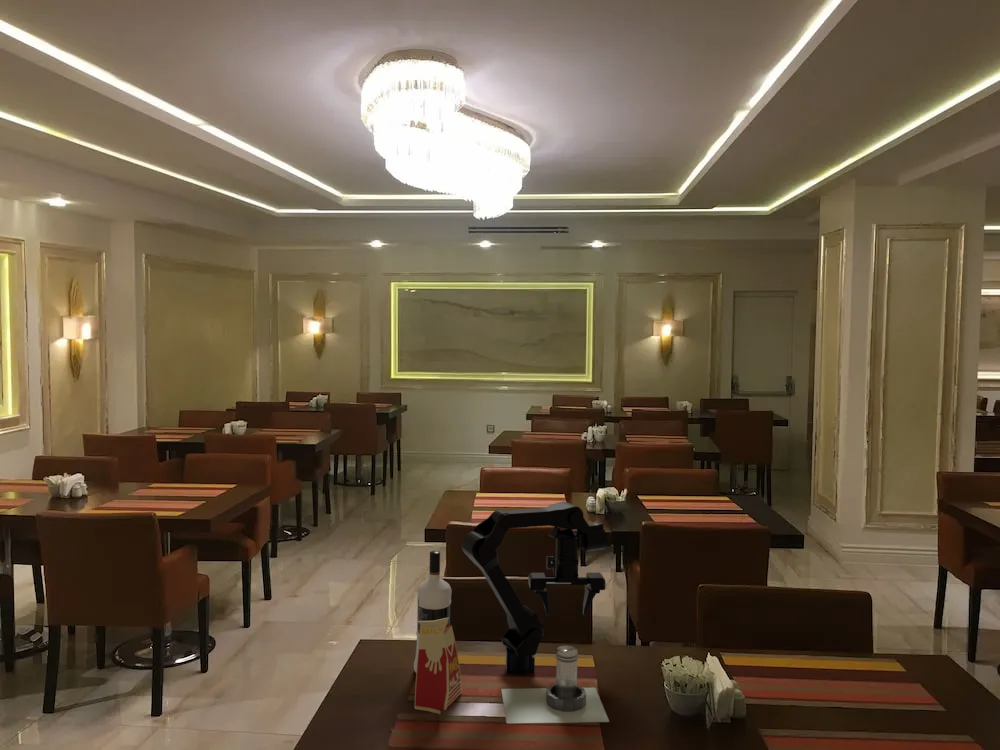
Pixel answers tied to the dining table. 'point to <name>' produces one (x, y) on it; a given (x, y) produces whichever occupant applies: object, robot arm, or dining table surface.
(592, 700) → the plate
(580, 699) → the ring collar
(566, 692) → the silver upright cylinder
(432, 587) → the vodka
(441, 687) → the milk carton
